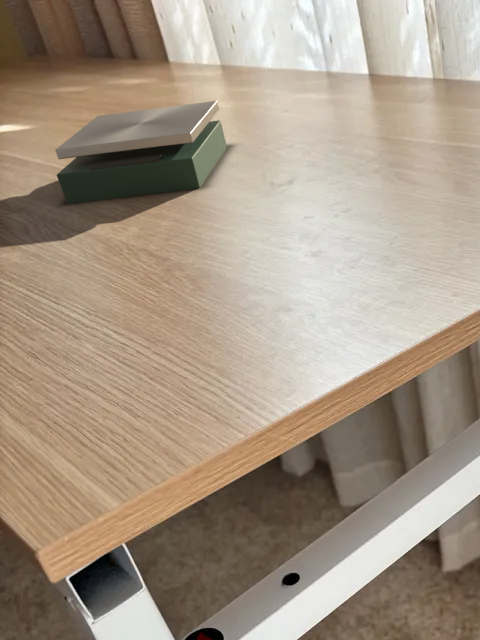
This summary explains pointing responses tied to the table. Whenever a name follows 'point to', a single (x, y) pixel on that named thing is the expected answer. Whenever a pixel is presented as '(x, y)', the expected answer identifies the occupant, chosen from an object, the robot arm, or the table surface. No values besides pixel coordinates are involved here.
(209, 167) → the scale
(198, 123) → the pan
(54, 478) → the table surface
